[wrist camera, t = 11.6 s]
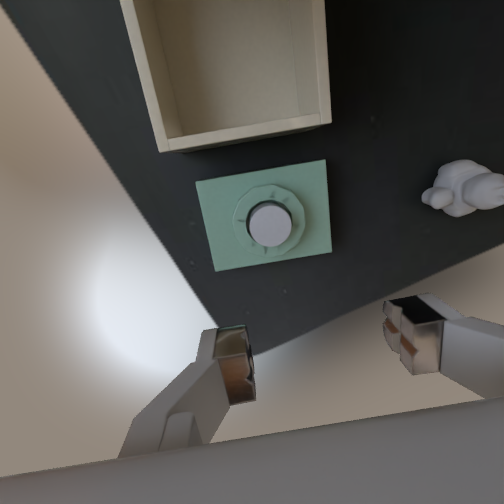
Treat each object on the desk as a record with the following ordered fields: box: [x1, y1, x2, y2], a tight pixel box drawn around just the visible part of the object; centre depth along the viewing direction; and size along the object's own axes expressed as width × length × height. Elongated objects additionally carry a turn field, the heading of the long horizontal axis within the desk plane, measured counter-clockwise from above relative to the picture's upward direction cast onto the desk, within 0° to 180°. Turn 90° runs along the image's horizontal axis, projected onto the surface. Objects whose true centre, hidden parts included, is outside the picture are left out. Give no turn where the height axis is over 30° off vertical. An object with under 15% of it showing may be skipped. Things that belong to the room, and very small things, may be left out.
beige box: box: [120, 0, 332, 153], centre depth 21 cm, size 15×13×8 cm
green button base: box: [195, 159, 332, 271], centre depth 27 cm, size 12×9×5 cm
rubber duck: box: [422, 160, 504, 217], centre depth 26 cm, size 5×7×8 cm
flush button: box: [249, 203, 292, 247], centre depth 24 cm, size 4×4×2 cm
